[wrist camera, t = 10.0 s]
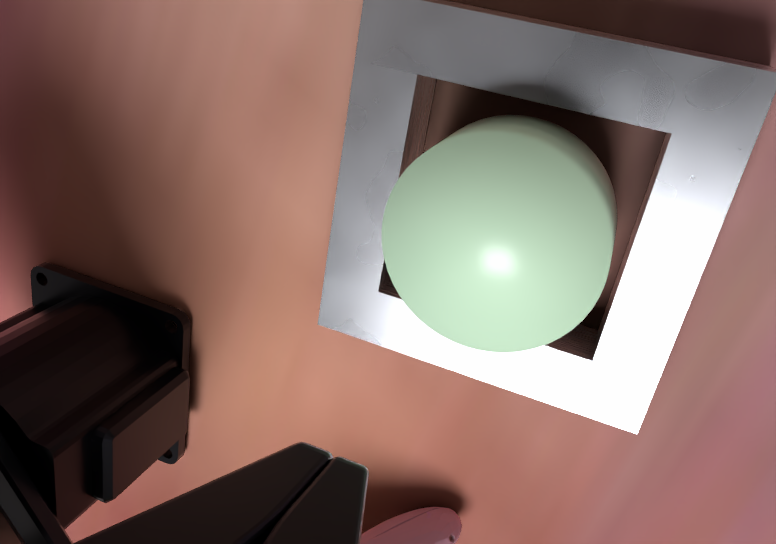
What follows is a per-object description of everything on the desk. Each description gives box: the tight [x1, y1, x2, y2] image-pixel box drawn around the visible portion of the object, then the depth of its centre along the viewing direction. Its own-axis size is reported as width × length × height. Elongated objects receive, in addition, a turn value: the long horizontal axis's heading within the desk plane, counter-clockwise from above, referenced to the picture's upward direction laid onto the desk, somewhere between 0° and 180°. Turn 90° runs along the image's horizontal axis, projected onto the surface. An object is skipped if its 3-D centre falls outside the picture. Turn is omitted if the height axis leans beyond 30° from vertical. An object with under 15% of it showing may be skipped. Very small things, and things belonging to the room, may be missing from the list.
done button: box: [382, 115, 617, 353], centre depth 16 cm, size 5×5×2 cm
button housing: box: [318, 0, 776, 434], centre depth 17 cm, size 9×9×2 cm
